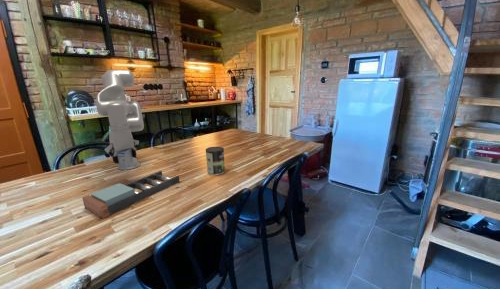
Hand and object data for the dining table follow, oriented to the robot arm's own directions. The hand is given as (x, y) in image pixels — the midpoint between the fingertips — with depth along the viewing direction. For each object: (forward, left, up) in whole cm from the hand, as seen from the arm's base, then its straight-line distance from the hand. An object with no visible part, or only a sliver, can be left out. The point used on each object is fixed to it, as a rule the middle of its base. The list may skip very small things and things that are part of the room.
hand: (125, 160), depth 114 cm
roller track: (+16, -5, -13) cm, 21 cm away
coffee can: (+32, +34, -13) cm, 48 cm away
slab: (+16, -16, -10) cm, 24 cm away
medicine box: (0, 0, -3) cm, 3 cm away
